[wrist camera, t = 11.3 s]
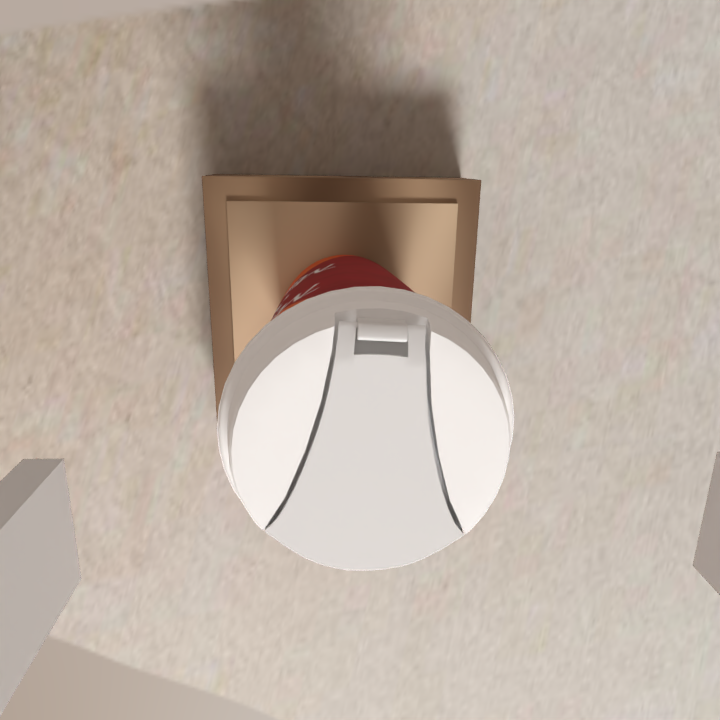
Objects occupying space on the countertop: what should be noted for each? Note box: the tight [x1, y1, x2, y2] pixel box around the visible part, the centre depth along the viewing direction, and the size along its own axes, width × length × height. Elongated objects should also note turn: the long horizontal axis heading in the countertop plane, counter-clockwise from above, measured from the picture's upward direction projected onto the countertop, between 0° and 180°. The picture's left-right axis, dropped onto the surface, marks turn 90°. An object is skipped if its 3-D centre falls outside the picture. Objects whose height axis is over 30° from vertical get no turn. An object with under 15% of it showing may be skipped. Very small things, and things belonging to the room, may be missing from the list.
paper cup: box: [217, 255, 514, 571], centre depth 21 cm, size 8×8×14 cm
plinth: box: [202, 174, 481, 421], centre depth 30 cm, size 12×12×4 cm
